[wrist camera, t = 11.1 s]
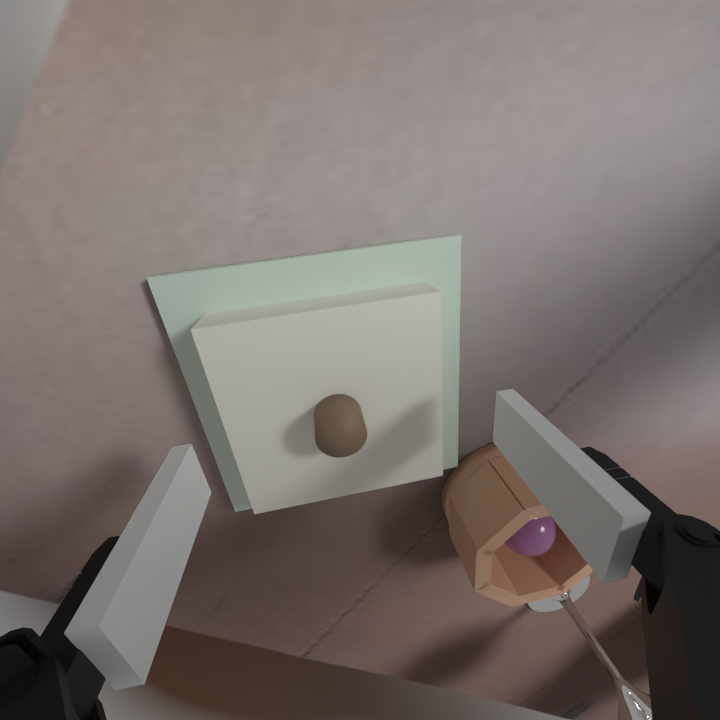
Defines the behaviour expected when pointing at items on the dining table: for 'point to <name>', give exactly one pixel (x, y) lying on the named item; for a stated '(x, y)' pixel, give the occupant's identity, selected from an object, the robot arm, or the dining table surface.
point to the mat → (302, 281)
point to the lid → (329, 392)
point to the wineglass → (600, 654)
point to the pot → (507, 533)
